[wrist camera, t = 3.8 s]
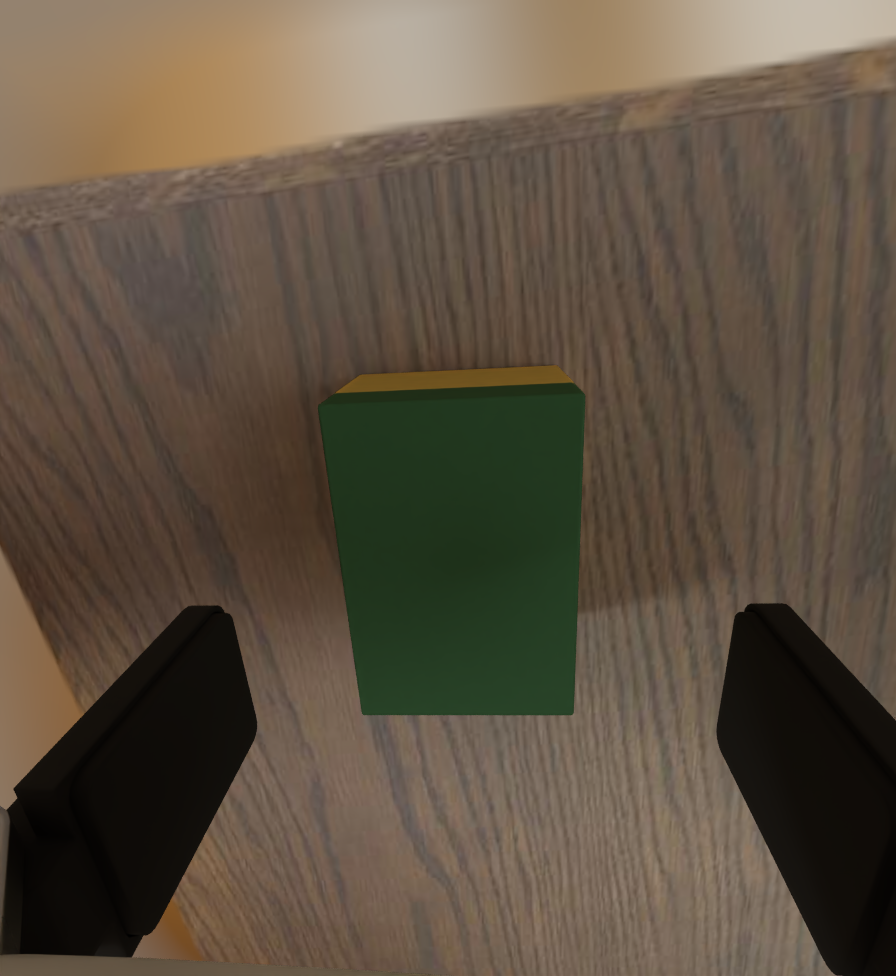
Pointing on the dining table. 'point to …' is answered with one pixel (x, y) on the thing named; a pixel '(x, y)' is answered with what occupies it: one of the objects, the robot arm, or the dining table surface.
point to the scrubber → (459, 537)
